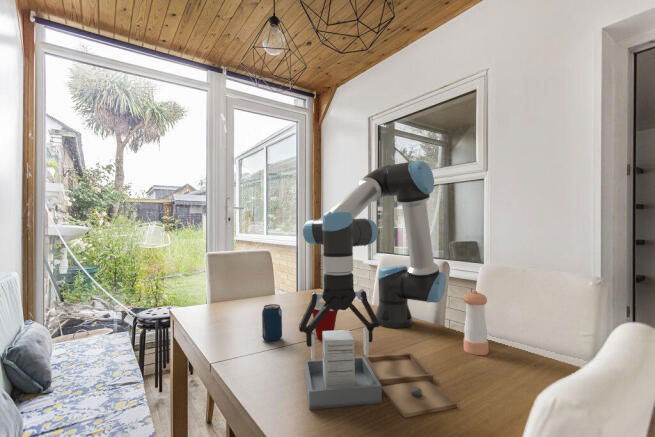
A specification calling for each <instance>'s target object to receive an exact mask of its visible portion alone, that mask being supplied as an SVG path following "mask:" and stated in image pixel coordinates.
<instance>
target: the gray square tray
mask: <svg viewBox="0 0 655 437" xmlns="http://www.w3.org/2000/svg"><path fill="white" fill-rule="evenodd" d="M304 381H305V387H306V393H307V394H306V396H307V402H308V403H307V404H308V408H309V410H310V411H311V410H321V409H322V410H323V409H334V408H335V409H336V408H346V407H356V406H358V407H359V406H366V405H378V404H379V405H380V404H382V403H383V402H382V401H383V399H382V398H383V397H382V396H383V395H382V394H383V392H382V386H381V384H380V382H379V381H378V379H377V377H376V376H375V374H374V373H373V371H372V369H371V368H370V366H369V364H368V363H367V361H366V359H365V358H364V356H355V386H351V387H338V388H326V389H325V384H324V380H323V358H322V359H315V361H312V359H310V360H309V359H308V360H304Z"/></svg>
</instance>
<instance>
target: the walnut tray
mask: <svg viewBox="0 0 655 437" xmlns="http://www.w3.org/2000/svg"><path fill="white" fill-rule="evenodd" d="M363 357H364V358H365V359H366V361H367V363H368V364H369V366H370V368H371V369H372V371H373V373H374V374H375V376H376V377H377V379H378V381H379V382H380V384H381V386H388V385H394V384H401V383H407V382H413V381H419V380H428V381H429V382H431V383H434V374H433V373H432V372H431V371H430V370H429V369H427V368H426V366H425V365H423V363H422V362H421V361H420V360H419V359H418V358H417V357H416V356H415V355H414V354H413V353H412V352H407V353H406V352H405V353H395V354H394V353H392V354H379V355H378V354H377V355H369V357H366V356H365V355H364V356H363Z"/></svg>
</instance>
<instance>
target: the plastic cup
mask: <svg viewBox="0 0 655 437" xmlns="http://www.w3.org/2000/svg"><path fill="white" fill-rule="evenodd" d="M324 304H325V301H319V302H316V306H315V308H314V310H313V312H312V316H313V318H314V317H315V316H316V315H317V313H318V312H319V311H320V310H321V308H322V306H323V305H324ZM338 312H339V310H337V311H333V310H332V309H330V311H329V312H328V313H327V314H326V315H325V316H324V317H323V319H322V320H321V321H320V323H319V324H318V325H317V326H316V328H315V329H314V331H315V336H316V339H317V340H318V341H319V340H320V341H323V337H322V331H334V330H335V326H336V320H337V315H338ZM313 318H312V319H313Z"/></svg>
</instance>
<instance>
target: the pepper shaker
mask: <svg viewBox="0 0 655 437" xmlns="http://www.w3.org/2000/svg"><path fill="white" fill-rule="evenodd" d="M462 299H463V302H464V303H465V321H464V322H465V323H464V327H463V329H464V337H463V350H464V352H465V353H468V354H471V355H476V356H487V355H488V354H489V352H490V350H489V348H490V347H489V340H488V328H487V322H486V316H485V315H486V313H485V312H486V311H485V305H486V304H487V303H488V298H487V296H486V295H484V294H482V293H480V292H478V290H475V289H474V290H472V291H471V292H467V293H465V294H464V295H463V298H462Z"/></svg>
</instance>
